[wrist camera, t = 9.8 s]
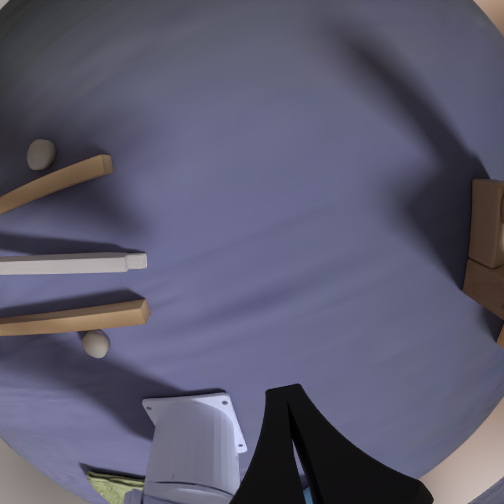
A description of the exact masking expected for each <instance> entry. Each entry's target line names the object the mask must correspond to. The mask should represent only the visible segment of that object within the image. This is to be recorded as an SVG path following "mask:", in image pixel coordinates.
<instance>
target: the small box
mask: <svg viewBox="0 0 504 504" xmlns="http://www.w3.org/2000/svg"><path fill="white" fill-rule="evenodd" d="M497 344H498V345H499V346H500V347H501V348H502V349H504V325H503V327H502V330H501V333H500V335H499V337H498V340H497Z"/></svg>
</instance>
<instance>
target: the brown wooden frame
mask: <svg viewBox="0 0 504 504" xmlns="http://www.w3.org/2000/svg"><path fill="white" fill-rule="evenodd" d="M468 256H469V259H468V260H467V265H466V272H465V278H464V284H463V293H464V294H466V295H467V296H469V297H470V298H472V299H473V300H475V301H476V302H478V303H479V304H481V305H482V306H484V307H485V308H487V309H488V310H490V311H491V312H492V313H494V314H495V315H497V316H498V317H500V318H501V319H502V320H504V181H499V180H493V179H473V180H472V215H471V231H470V242H469V252H468Z"/></svg>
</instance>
